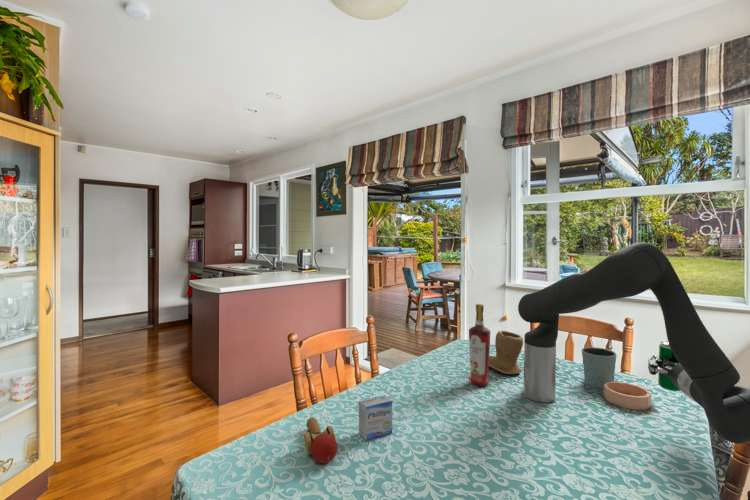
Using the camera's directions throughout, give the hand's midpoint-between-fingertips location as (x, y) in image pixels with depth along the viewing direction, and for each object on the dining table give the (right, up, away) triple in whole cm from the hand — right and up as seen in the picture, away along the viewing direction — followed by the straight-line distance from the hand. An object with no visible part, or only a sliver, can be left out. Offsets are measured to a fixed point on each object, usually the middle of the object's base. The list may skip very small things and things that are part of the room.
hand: (666, 360), depth 95 cm
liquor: (-43, -17, +28) cm, 54 cm away
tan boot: (-29, -17, +42) cm, 54 cm away
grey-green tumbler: (-2, -17, +26) cm, 31 cm away
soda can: (-1, -7, -2) cm, 7 cm away
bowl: (-2, -17, +13) cm, 21 cm away
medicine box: (-80, -18, -4) cm, 82 cm away
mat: (-2, -17, +13) cm, 22 cm away
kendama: (-94, -18, -10) cm, 96 cm away
